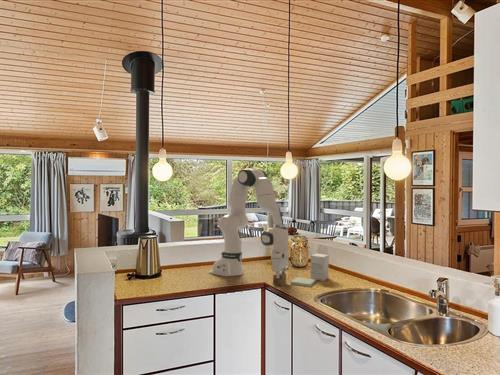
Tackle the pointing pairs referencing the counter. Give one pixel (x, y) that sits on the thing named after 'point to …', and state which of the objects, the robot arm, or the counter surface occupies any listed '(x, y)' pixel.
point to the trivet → (303, 281)
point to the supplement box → (319, 267)
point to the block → (279, 279)
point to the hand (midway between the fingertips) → (280, 276)
